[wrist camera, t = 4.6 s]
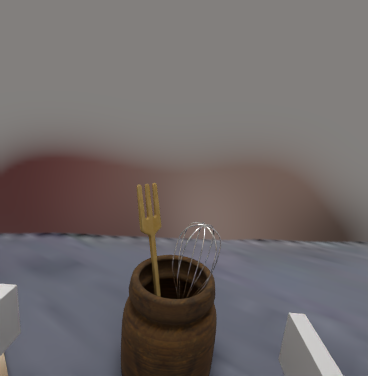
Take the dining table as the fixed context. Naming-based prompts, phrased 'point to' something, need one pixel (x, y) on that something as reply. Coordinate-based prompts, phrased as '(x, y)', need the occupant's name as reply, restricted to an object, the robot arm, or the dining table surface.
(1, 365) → the ring collar board
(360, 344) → the dining table surface
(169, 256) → the utensil holder
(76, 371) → the dining table surface
